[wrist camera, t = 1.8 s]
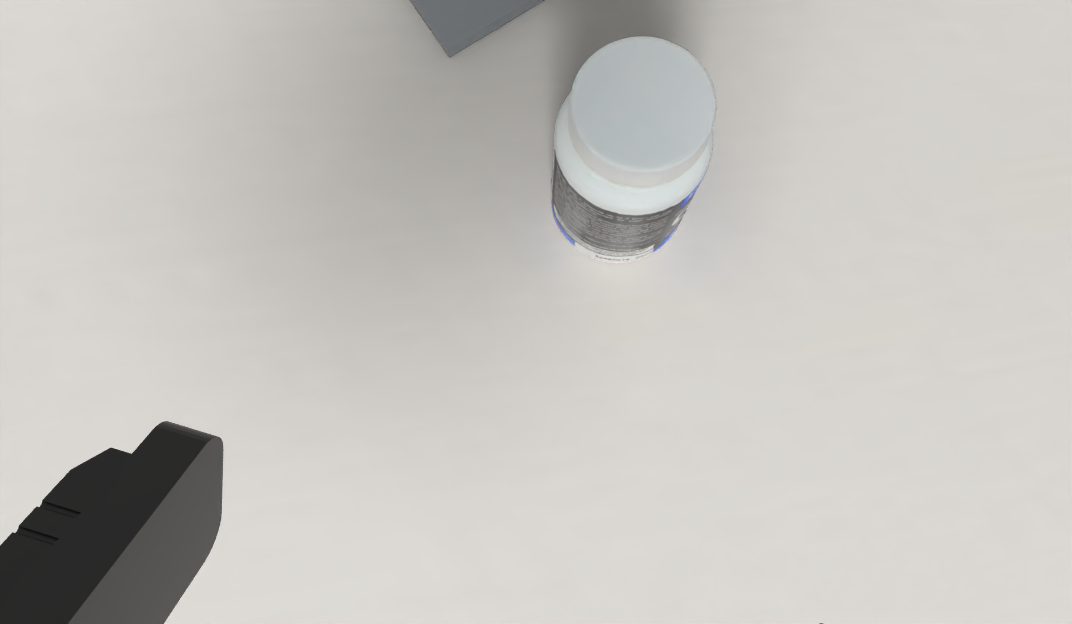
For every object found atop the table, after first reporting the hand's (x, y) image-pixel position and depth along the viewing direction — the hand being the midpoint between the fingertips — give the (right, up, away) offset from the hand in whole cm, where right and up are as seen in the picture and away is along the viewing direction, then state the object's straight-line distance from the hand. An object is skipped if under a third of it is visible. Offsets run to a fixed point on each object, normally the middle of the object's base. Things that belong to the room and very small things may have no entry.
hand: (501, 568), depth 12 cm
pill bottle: (+3, +7, +21) cm, 22 cm away
